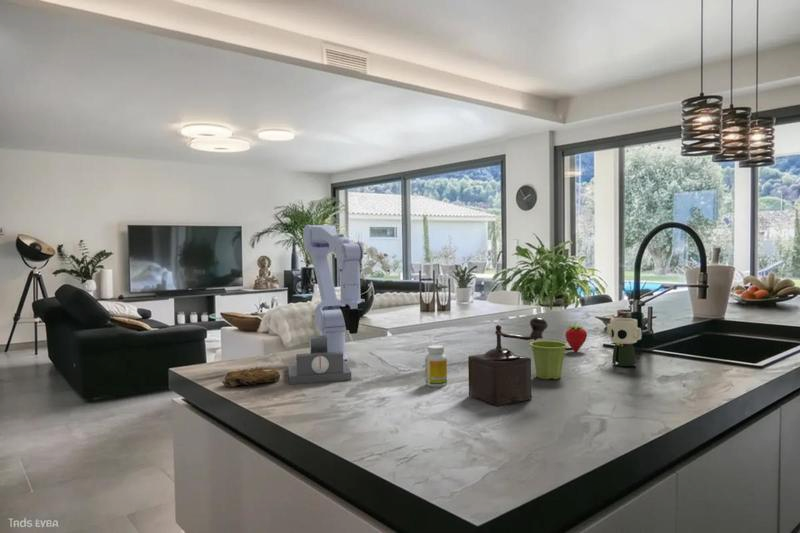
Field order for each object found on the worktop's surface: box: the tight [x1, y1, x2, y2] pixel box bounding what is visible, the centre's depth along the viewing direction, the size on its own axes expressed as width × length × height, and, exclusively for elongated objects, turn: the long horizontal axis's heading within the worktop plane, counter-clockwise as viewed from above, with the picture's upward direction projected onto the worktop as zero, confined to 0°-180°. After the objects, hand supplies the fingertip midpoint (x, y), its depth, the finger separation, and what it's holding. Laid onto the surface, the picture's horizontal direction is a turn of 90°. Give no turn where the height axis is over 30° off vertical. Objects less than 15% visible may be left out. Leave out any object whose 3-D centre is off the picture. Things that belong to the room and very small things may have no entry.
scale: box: [288, 351, 352, 385], centre depth 150 cm, size 18×16×7 cm
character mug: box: [606, 317, 642, 367], centre depth 153 cm, size 11×7×13 cm, turn 30°
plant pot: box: [529, 340, 568, 380], centre depth 141 cm, size 9×9×9 cm
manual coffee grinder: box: [467, 317, 548, 407], centre depth 124 cm, size 16×11×18 cm
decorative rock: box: [221, 367, 281, 388], centre depth 142 cm, size 11×4×15 cm
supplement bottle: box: [424, 344, 448, 388], centre depth 136 cm, size 5×5×10 cm
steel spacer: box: [309, 335, 327, 353], centre depth 152 cm, size 4×4×6 cm
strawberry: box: [564, 323, 588, 352], centre depth 174 cm, size 6×8×10 cm
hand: (351, 331), depth 157 cm, fingers open, 7 cm apart
